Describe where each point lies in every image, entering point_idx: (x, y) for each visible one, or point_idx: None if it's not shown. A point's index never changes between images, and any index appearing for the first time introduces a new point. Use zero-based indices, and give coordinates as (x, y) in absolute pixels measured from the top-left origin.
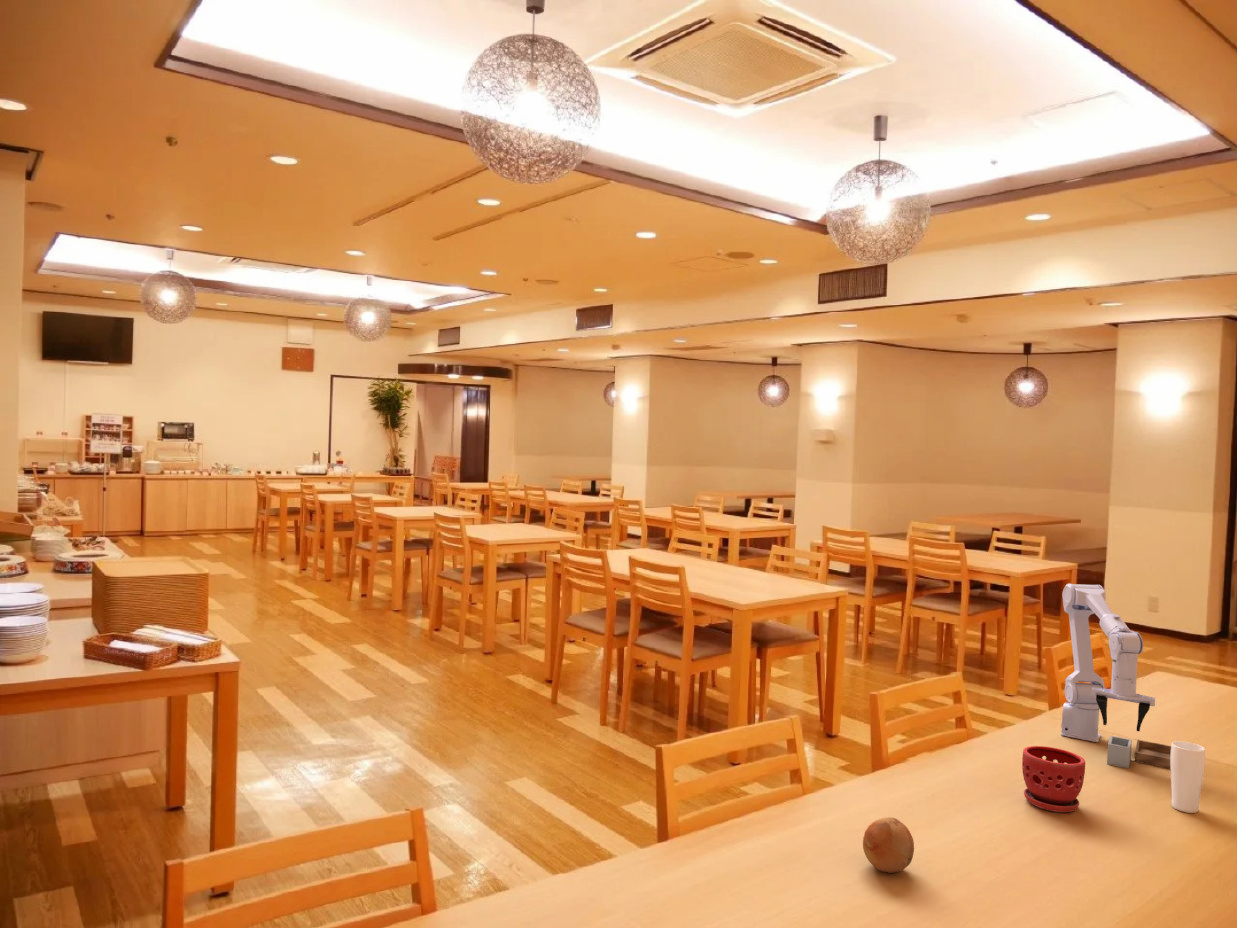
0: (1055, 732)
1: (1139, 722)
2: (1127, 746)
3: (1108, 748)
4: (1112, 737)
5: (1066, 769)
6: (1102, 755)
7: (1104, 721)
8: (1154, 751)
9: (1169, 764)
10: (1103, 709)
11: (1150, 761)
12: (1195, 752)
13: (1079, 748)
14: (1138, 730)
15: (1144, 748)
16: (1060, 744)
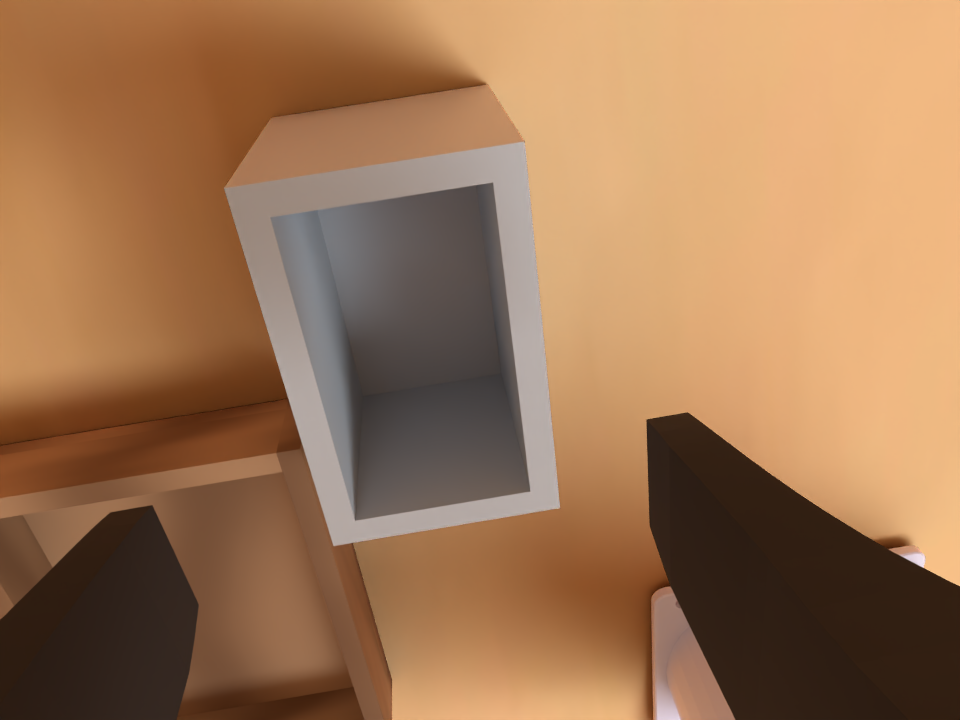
0: (951, 577)
1: (13, 631)
2: (276, 240)
3: (504, 128)
4: (527, 458)
5: None
6: (573, 329)
7: (701, 441)
8: (262, 685)
9: (7, 464)
10: (882, 609)
11: (171, 433)
12: None
13: (774, 359)
14: (111, 515)
15: (337, 689)
16: (933, 336)
